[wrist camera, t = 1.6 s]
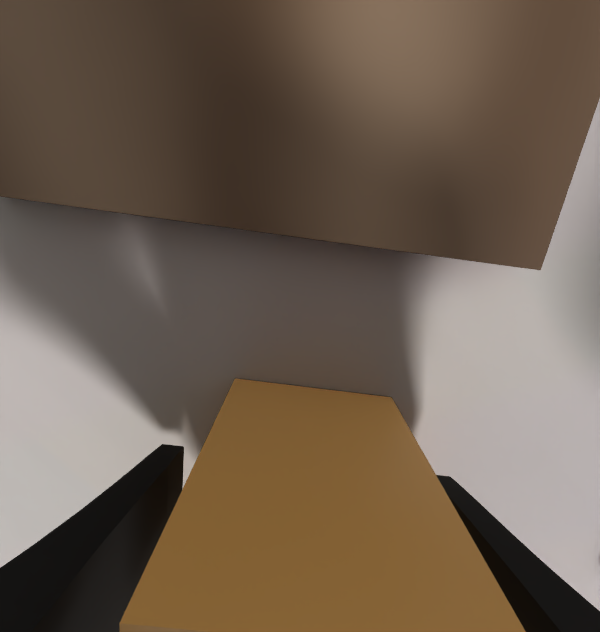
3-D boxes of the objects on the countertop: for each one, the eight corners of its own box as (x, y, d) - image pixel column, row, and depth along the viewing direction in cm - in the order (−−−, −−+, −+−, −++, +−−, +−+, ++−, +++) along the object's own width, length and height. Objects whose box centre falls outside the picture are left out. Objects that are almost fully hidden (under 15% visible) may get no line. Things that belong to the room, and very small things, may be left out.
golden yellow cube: (391, 397, 9) (543, 662, 3) (362, 519, 11) (438, 863, 5) (234, 378, 9) (118, 623, 3) (224, 504, 10) (128, 841, 5)
